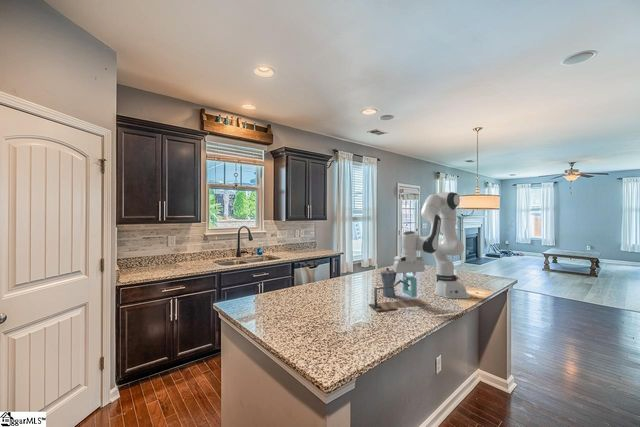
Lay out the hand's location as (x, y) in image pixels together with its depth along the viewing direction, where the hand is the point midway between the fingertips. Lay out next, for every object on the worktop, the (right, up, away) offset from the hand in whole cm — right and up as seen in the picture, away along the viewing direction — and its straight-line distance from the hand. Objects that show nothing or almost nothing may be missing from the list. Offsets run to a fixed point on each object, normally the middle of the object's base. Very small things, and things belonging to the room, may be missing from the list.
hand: (409, 279), depth 174 cm
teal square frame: (0, -9, 0) cm, 9 cm away
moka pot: (-8, -16, +18) cm, 26 cm away
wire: (-12, -15, -3) cm, 20 cm away
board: (-7, -16, -2) cm, 17 cm away
